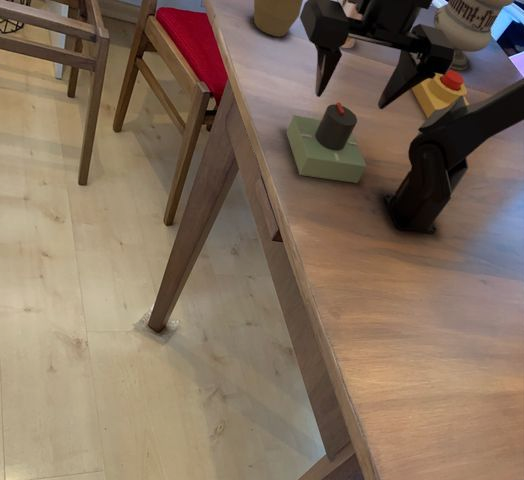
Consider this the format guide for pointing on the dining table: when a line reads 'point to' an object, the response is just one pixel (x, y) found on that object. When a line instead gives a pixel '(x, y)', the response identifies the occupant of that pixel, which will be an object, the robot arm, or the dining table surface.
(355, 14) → the beer glass
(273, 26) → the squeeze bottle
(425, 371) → the dining table surface
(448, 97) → the button block
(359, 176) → the panel
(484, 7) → the apothecary jar
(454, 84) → the button
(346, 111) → the knob
